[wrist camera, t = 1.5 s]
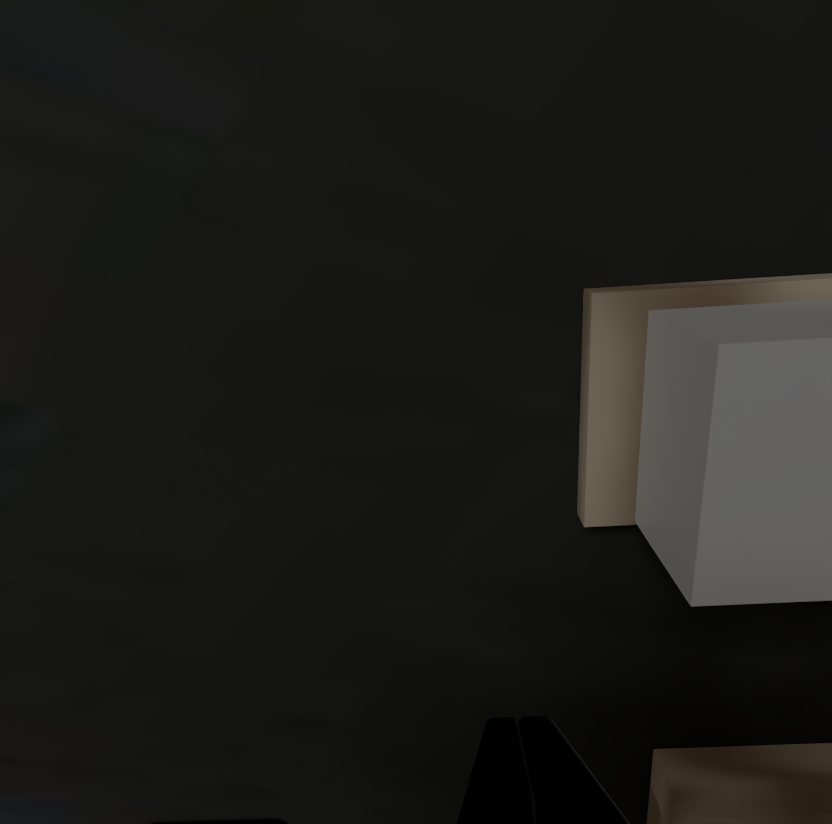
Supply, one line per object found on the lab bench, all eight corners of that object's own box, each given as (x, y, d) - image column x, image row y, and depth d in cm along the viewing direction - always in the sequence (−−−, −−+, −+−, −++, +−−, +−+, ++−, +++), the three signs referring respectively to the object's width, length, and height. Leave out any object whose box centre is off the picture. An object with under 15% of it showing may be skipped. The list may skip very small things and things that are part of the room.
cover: (634, 521, 20) (690, 606, 15) (648, 310, 17) (719, 344, 13) (851, 510, 19) (967, 594, 15) (894, 295, 17) (1046, 325, 13)
